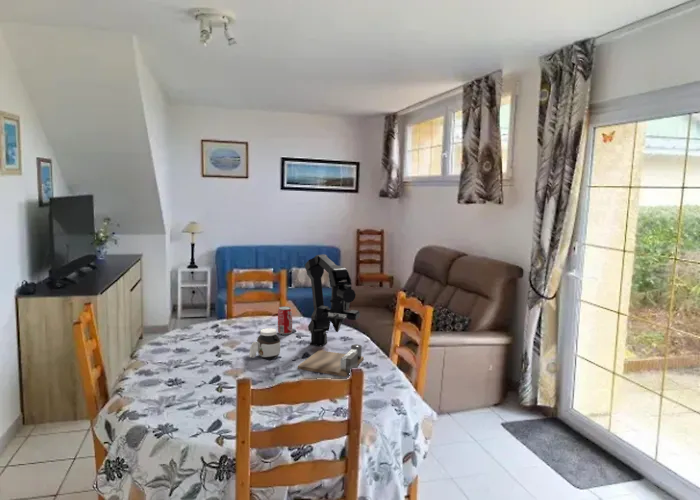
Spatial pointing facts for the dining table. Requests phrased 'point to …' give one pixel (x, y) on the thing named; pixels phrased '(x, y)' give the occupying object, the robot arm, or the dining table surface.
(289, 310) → the soda can
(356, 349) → the latch bar
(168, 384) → the dining table surface
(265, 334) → the spread jar
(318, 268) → the robot arm
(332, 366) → the frame
